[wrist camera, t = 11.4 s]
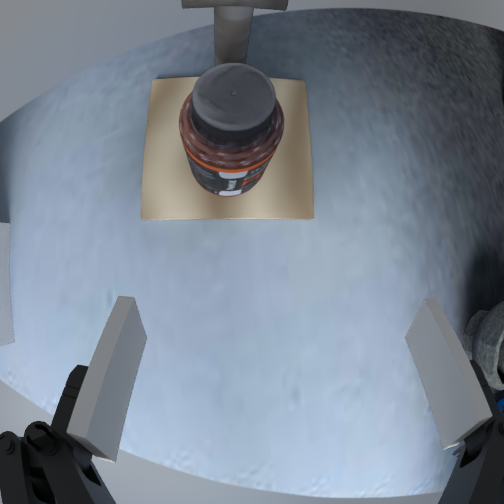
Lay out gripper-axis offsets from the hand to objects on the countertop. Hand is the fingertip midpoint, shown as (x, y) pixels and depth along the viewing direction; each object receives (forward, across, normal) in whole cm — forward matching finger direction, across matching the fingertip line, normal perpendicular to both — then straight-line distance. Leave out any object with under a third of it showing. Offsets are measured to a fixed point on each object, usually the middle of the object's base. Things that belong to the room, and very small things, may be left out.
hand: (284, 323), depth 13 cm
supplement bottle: (+15, -4, +2) cm, 16 cm away
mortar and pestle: (+8, +26, -14) cm, 30 cm away
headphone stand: (+17, -4, +3) cm, 17 cm away
